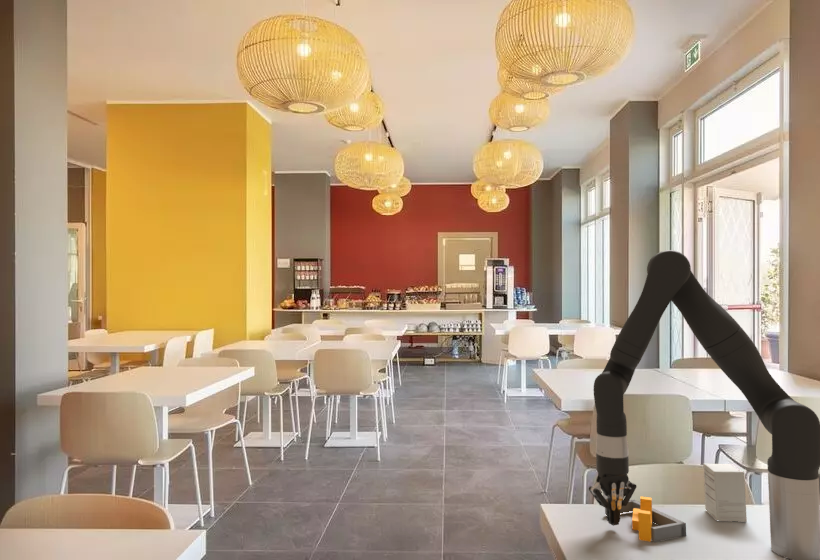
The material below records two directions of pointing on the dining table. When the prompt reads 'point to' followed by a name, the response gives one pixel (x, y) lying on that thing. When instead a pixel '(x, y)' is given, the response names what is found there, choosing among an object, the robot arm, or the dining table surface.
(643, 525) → the pipe clamp
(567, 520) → the dining table surface
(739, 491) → the supplement box
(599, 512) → the dining table surface
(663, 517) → the frame
